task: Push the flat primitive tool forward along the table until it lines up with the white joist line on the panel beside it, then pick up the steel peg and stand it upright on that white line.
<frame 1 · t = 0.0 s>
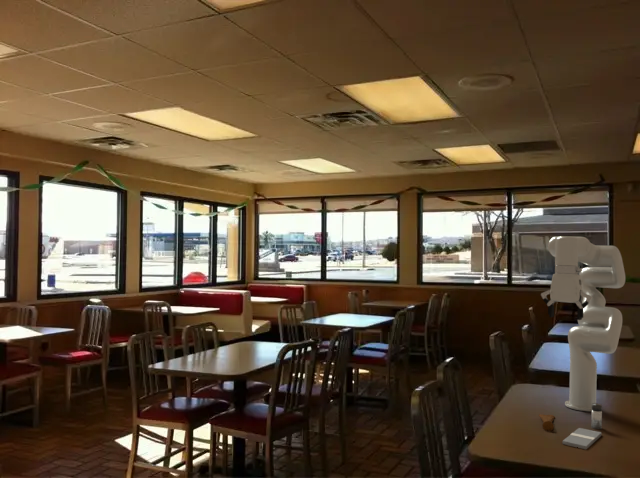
hand: (565, 318, 206), 37 cm above the table, tool pointing down, fingers open, 9 cm apart
steel peg: (596, 427, 198), on the table
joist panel: (582, 439, 185), on the table
primitive tool: (546, 424, 203), on the table
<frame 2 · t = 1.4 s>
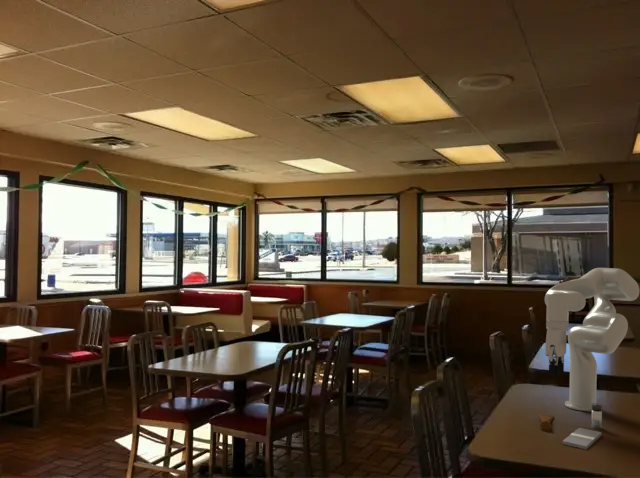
hand: (556, 373, 211), 16 cm above the table, tool pointing down, fingers open, 5 cm apart
nothing on the table moved.
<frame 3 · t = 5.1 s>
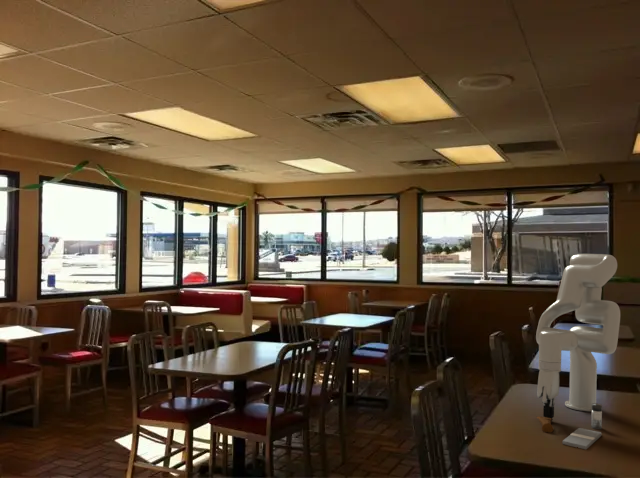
hand: (548, 417, 205), 1 cm above the table, tool pointing down, fingers closed
primitive tool: (544, 426, 201), on the table
everything else where it was.
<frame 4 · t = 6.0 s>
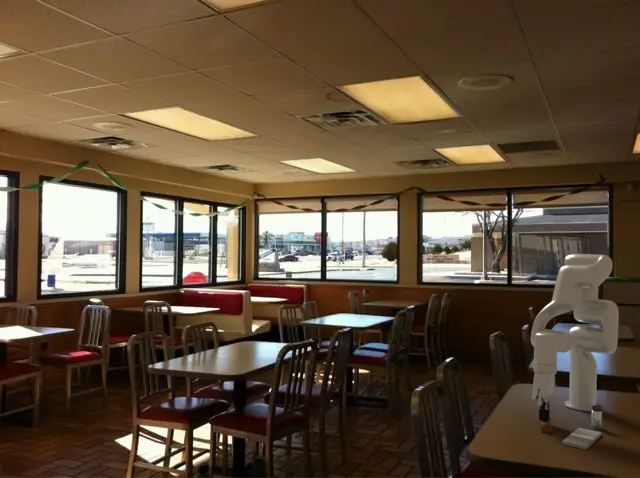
hand: (544, 420, 201), 1 cm above the table, tool pointing down, fingers closed
primitive tool: (543, 427, 201), on the table, touching gripper
everything else where it was.
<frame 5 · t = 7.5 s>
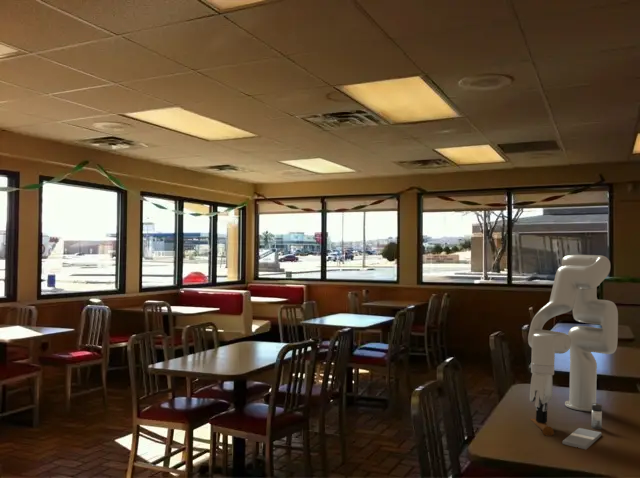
hand: (541, 421, 199), 1 cm above the table, tool pointing down, fingers closed
primitive tool: (540, 429, 198), on the table, touching gripper
everything else where it was.
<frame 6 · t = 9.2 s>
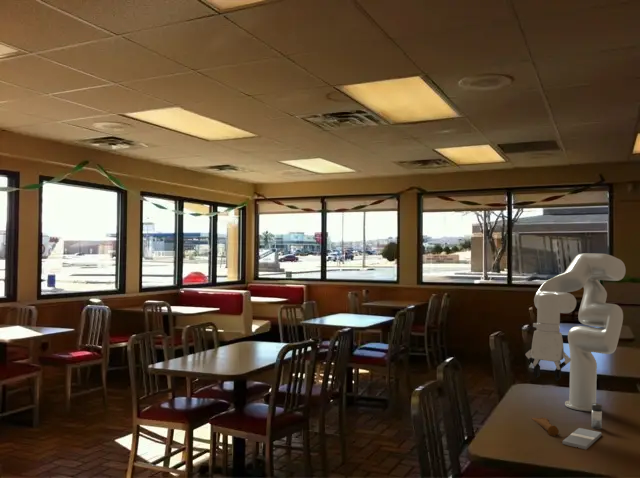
hand: (547, 378, 203), 16 cm above the table, tool pointing down, fingers open, 6 cm apart
primitive tool: (544, 428, 198), on the table
everything else where it was.
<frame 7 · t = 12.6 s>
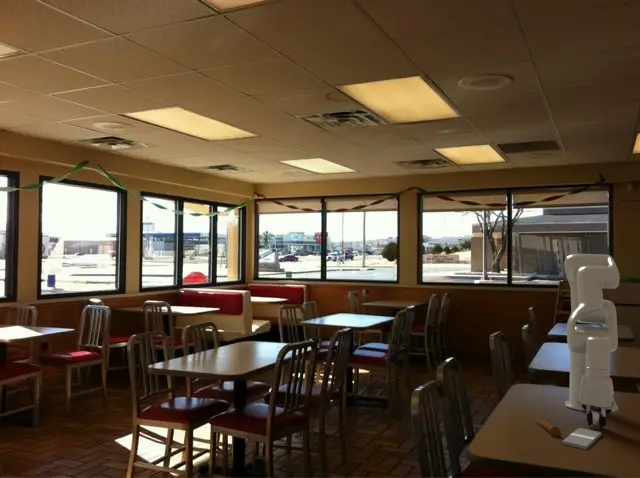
hand: (596, 425, 198), 1 cm above the table, tool pointing down, fingers closed on steel peg, 3 cm apart
steel peg: (596, 427, 198), on the table, touching gripper
everything else where it was.
when the fingers open (3 cm above the table, at t = 18.3 s): steel peg stays where it is, resting on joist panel.
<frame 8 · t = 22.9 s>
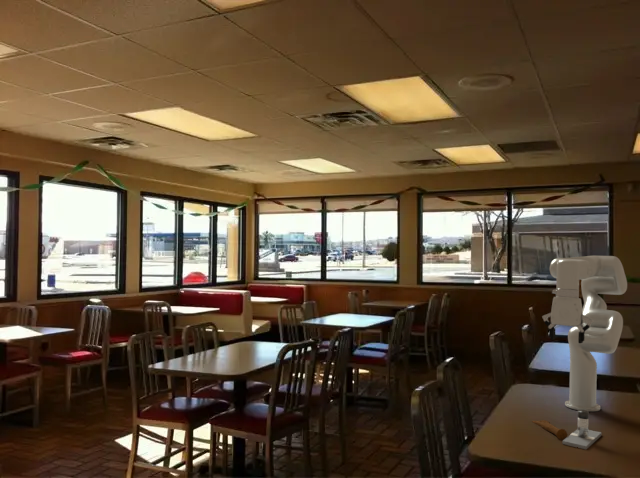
hand: (566, 341, 207), 28 cm above the table, tool pointing down, fingers open, 9 cm apart
steel peg: (582, 436, 185), point 1 cm above the table, touching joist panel
primitive tool: (548, 431, 195), on the table
at the end: primitive tool inside the target area (4.5 cm from its centre), on the table; steel peg 0.1 cm off-centre on the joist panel, point 1.1 cm above the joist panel's base; steel peg tilted 0° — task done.
